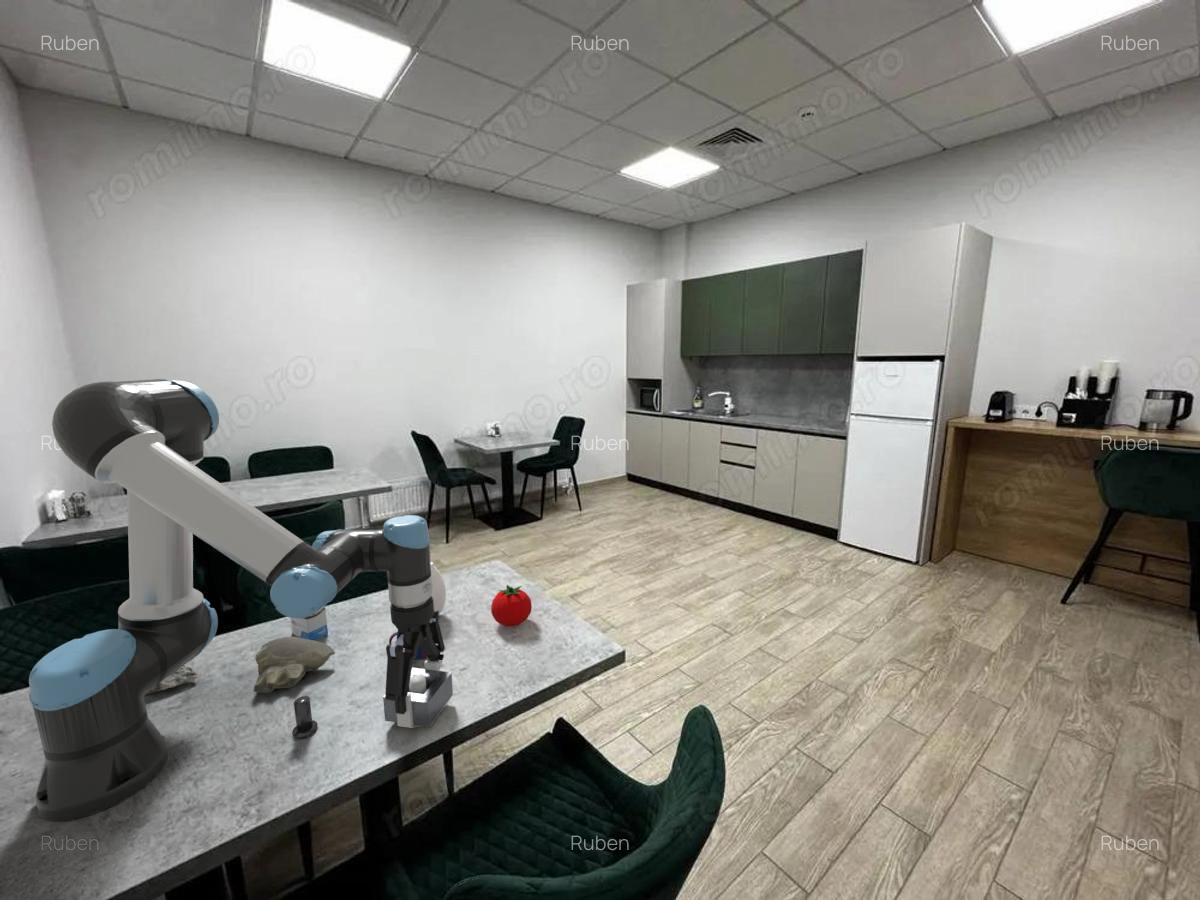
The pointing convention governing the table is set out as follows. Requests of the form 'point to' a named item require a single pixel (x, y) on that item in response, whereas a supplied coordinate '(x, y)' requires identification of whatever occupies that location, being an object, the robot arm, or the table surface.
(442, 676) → the grey square bin
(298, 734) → the dark grey round-topped piece
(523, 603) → the tomato
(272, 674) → the fossil
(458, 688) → the table surface
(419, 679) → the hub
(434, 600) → the white vase
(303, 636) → the ink box
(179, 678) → the mineral rock
